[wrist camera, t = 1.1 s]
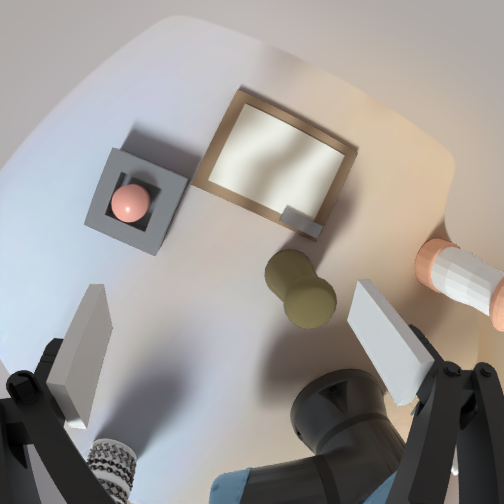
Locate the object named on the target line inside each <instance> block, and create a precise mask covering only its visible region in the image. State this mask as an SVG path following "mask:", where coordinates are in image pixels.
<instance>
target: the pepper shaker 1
mask: <svg viewBox="0 0 504 504" xmlns="http://www.w3.org/2000/svg"><path fill="white" fill-rule="evenodd" d="M265 280H266V283H267V285H268V287H269V288H270V290H271V291H272V292H273V293H275V294H276V295H277V296H278V297H279V298H280V299H281V300H282V301H283V302H284V309H285V313H286V315H287V316H288V318H289V320H290V321H291V322H293V323H294V324H295V325H297V326H298V327H301V328H304V329H313V328H316V327H320V326H322V325H323V324H325V323H327V322H328V320H329V319H330V318H331V317H332V315H333V313H334V312H335V309H336V304H337V300H336V294H335V291H334V289H333V287H332V286H331V285H330V284H329V283H328V282H327V281H326V280H324V279H322V278H319V277H318V276H317V274H316V272H315V270H314V268H313V267H312V265H311V263H310V261H309V259H308V257H306V256H305V255H304V254H303V253H302V252H299V251H297V250H284V251H280V252H279V253H277V254H275V255H274V256H273V257H272V258H271V259H270V260H269V262H268V264H267V266H266V268H265Z"/></svg>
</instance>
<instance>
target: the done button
mask: <svg viewBox="0 0 504 504" xmlns="http://www.w3.org/2000/svg"><path fill="white" fill-rule="evenodd" d="M150 205H151V197H150V194H149V192H148V191H147V189H146V188H145V187H143V186H141V185H139V184H130V185H125V186H122V187H120V188H119V189H118V190H117V191H116V192H115V193H114V195H113V198H112V210H113V212H114V214H115V215H116V217H117V218H118V219H120V220H122V221H124V222H134V221H136V220H138V219H140V218H141V217H142V216H144V215H145V214H146V213H147V212H148V210H149V208H150Z"/></svg>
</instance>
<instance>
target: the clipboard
mask: <svg viewBox="0 0 504 504" xmlns="http://www.w3.org/2000/svg"><path fill="white" fill-rule="evenodd" d="M357 154H358V153H357V152H356V151H354V150H352V149H351V148H349V147H347V146H346V145H344V144H342V143H341V142H339V141H337V140H335V139H334V138H332V137H330V136H328V135H327V134H325V133H323V132H321V131H320V130H318V129H316V128H314V127H312V126H310V125H309V124H307V123H305V122H303V121H301V120H299V119H297V118H295V117H294V116H292V115H290V114H288V113H286V112H284V111H282V110H280V109H278V108H276V107H274V106H272V105H270V104H268V103H266V102H264V101H262V100H259V99H257V98H255V97H253V96H251V95H249V94H247V93H244V92H242V91H240V90H237V92H236V94H235V95H234V97H233V99H232V101H231V103H230V105H229V107H228V109H227V111H226V113H225V115H224V117H223V119H222V121H221V123H220V125H219V127H218V129H217V131H216V133H215V135H214V137H213V139H212V141H211V143H210V145H209V147H208V149H207V152H206V154H205V156H204V158H203V160H202V162H201V164H200V166H199V169H198V171H197V173H196V175H195V177H194V179H193V182H192V184H191V185H193V186H196V187H198V188H200V189H203V190H205V191H207V192H209V193H212V194H214V195H216V196H218V197H221V198H223V199H225V200H227V201H230V202H232V203H234V204H236V205H238V206H241V207H243V208H245V209H247V210H249V211H252V212H254V213H256V214H258V215H260V216H263V217H265V218H267V219H269V220H271V221H273V222H275V223H278V224H280V225H282V226H284V227H286V228H288V229H290V230H293V231H295V232H297V233H299V234H301V235H303V236H305V237H307V238H309V239H312V240H314V241H317V239H318V237H319V235H320V233H321V231H322V229H323V227H324V225H325V223H326V220H327V218H328V216H329V214H330V212H331V210H332V208H333V206H334V204H335V202H336V200H337V198H338V195H339V193H340V191H341V189H342V187H343V185H344V183H345V181H346V178H347V176H348V174H349V172H350V170H351V168H352V165H353V163H354V161H355V159H356V157H357Z"/></svg>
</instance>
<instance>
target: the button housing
mask: <svg viewBox="0 0 504 504" xmlns="http://www.w3.org/2000/svg"><path fill="white" fill-rule="evenodd" d="M188 181H189V178H187V177H185V176H183V175H180V174H178V173H176V172H173V171H171V170H169V169H166V168H164V167H162V166H159V165H157V164H155V163H152V162H150V161H147V160H145V159H143V158H140V157H138V156H135V155H133V154H131V153H128V152H126V151H123V150H121V149H117V148H112V150H111V153H110V155H109V157H108V160H107V162H106V165H105V167H104V170H103V172H102V175H101V177H100V180H99V183H98V185H97V188H96V191H95V193H94V196H93V199H92V202H91V205H90V208H89V211H88V214H87V217H86V220H85V223H84V225H86V226H88V227H90V228H93V229H95V230H97V231H99V232H101V233H104V234H106V235H108V236H110V237H112V238H115V239H117V240H119V241H121V242H124V243H126V244H128V245H130V246H133V247H135V248H137V249H140V250H142V251H144V252H147V253H149V254H151V255H153V256H156V254H157V252H158V251H159V249H160V246H161V244H162V241H163V239H164V237H165V234H166V232H167V229H168V227H169V224H170V222H171V220H172V217H173V215H174V213H175V210H176V208H177V206H178V203H179V201H180V199H181V196H182V194H183V192H184V190H185V187H186V185H187V183H188ZM130 184H139V185H141V186H143V187H145V188H146V189H147V191H148V192H149V194H150V197H151V205H150V208H149V210H148V212H147V213H146V214H145V215H144V216H142V217H141V218H140V219H138V220H136V221H134V222H124V221H122V220H120V219H118V218H117V217H116V215H115V214H114V212H113V210H112V198H113V195H114V193H115V192H116V191H117V190H118V189H119V188H120V187H122V186H125V185H130Z"/></svg>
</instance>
